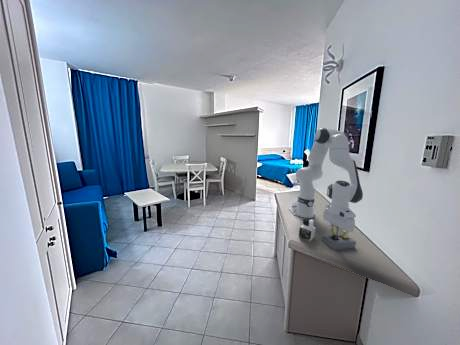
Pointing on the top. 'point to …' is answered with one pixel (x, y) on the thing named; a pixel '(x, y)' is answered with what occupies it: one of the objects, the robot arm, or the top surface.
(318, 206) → the top surface
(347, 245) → the block
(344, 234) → the pin
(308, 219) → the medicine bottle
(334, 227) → the pin
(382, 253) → the top surface
